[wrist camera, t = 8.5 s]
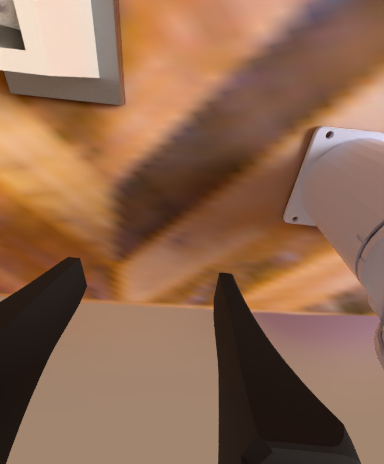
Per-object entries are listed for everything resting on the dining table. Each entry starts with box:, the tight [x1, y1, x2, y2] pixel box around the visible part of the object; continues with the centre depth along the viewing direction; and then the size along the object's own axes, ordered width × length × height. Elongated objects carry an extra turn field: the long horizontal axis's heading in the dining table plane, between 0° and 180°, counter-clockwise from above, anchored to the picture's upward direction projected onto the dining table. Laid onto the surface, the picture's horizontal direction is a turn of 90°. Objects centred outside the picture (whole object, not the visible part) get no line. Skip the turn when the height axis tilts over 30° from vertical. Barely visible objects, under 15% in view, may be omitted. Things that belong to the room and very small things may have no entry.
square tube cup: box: [0, 0, 99, 78], centre depth 11 cm, size 5×5×6 cm
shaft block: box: [0, 0, 125, 105], centre depth 11 cm, size 8×8×6 cm
